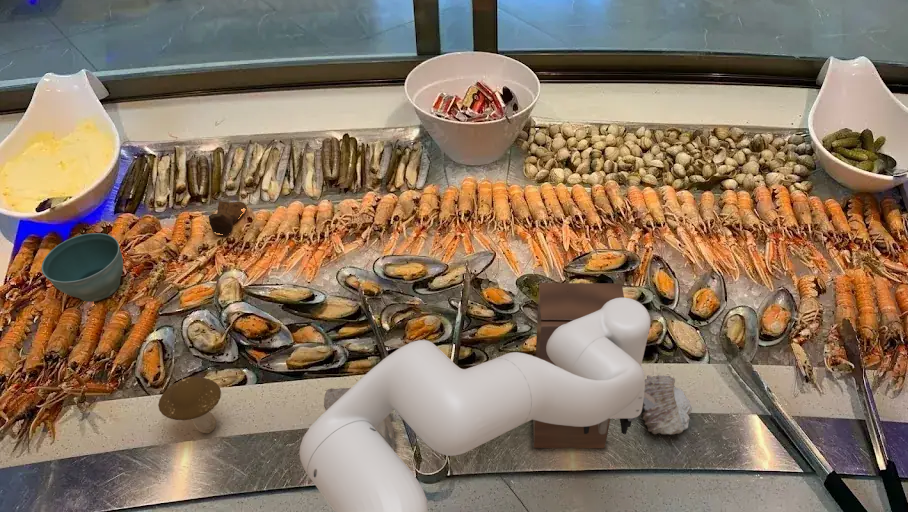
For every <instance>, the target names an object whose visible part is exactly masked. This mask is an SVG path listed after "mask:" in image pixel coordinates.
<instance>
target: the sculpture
mask: <svg viewBox="0 0 908 512" xmlns="http://www.w3.org/2000/svg"><path fill="white" fill-rule="evenodd" d="M217 204H218V205H217V212H216V213H211V214H209V215H208V221H209V225H210V228H211V230H212V231H211V232H212V233H214V232H216V233H220V234H223V235H216V236H217V237H219V238H224V237H228V236H230V234H232V232H233V227H234V224H235V223H236V222H238V221H239V220H241V219H242V217H241V218H240V219H239V220H238V218H239V217H240V215H241V214H242V213H243V212H242V211H241V209H243V208H245V209H246V211H247V210H248V207H247V204H246V203H245V202H243V201H232V202H229V201H226V200H224V201H223V200H220V201H219V202H218V203H217ZM237 220H238V221H237ZM235 221H236V222H235ZM234 222H235V223H234ZM231 231H232V232H231ZM229 233H230V234H229Z"/></svg>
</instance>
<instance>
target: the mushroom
mask: <svg viewBox="0 0 908 512" xmlns="http://www.w3.org/2000/svg"><path fill="white" fill-rule="evenodd" d="M221 396H222V390H221V387H220V385H219V384H217V382H215V381H213V380H212V379H211V378H206V377H197V376H187V377H184V378H182V379H181V380H179V381H178V382H175V383H173V384H172V385H171V386H169V387H168V388H167V389H166V390H165V391H164V392H163V393H162V394H161V396H160V398H159V401H158V404H157V405H158V406H157V407H158V410H159V412H160V413H161V414H162V415H163V417H166V418H168V419H170V420H175V421H189V420H192V422H193V424H194V426H195V428H196V429H197V431H199V432H200V433H202V434H210V433H211V432H213V431H214V430H215V429H216V427H217V418H216V416H215V415H214V414H213V413H211V411H212V410H213V409H215V407H216V406H217V405H218V403H219V402H220V400H221V398H222V397H221Z"/></svg>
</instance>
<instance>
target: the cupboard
mask: <svg viewBox="0 0 908 512" xmlns="http://www.w3.org/2000/svg"><path fill="white" fill-rule="evenodd" d="M622 297H623V298H625V294H624V288H623V283H621V282H620V283H617V282H615V283H611V282H610V283H608V282H607V283H606V282H605V283H601V282H600V283H598V282H593V283H592V282H589V283H588V282H572V283H571V282H539V283H538V300H537V301H538V303H537V321H536V339H535V340H536V341H535V356H534V357H537V358H539V347H540V330H541V322H571V321H573V320H575V319H578V318H581V317H583V316H586V315H589V314H591V313H593V312H595V311H598V310H600V309H601V308H602V307H603V306H604V304H606V303H607V302H608V301H610V300H612V299H615V298H622ZM532 430H533V435H534V431H535V420H532Z"/></svg>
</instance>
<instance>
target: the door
mask: <svg viewBox="0 0 908 512" xmlns="http://www.w3.org/2000/svg"><path fill="white" fill-rule="evenodd" d="M566 323H568V322H541V330H540V347H539V358H540V359H542V360H545V361H547V362H549V363H551V364H553V365H555V364H554V363H553V362H552V361H551V360H550V358H549V356H548V355H547V351H546V346H547V342H548V340H549V338H550V336H551V335H552V333H553V332H554V331H555V330H556V329H557V328H558V327H560V326H561V325H563V324H566ZM555 366H557V365H555ZM557 367H558V366H557ZM611 419H612V418H608V419H607V420H605V421H603V422H601V423H599V424H596V425H592V426H590V427H589V433H587V434H584V427H575V426H565V425H556V424H550V423H545V422H540V421H537V420H535V431H534V434H533V449H605V448H606V443H607V438H608V433H609V428H610V423H611Z"/></svg>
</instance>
